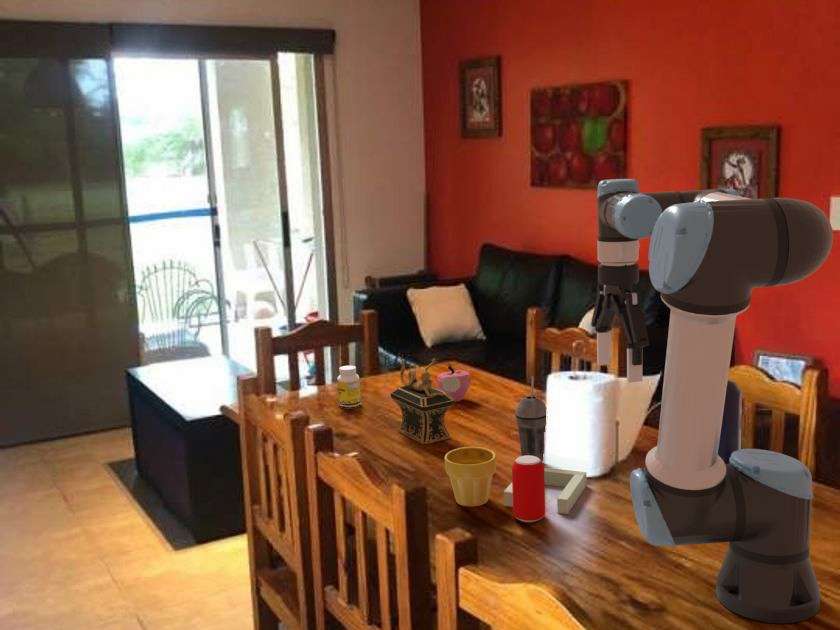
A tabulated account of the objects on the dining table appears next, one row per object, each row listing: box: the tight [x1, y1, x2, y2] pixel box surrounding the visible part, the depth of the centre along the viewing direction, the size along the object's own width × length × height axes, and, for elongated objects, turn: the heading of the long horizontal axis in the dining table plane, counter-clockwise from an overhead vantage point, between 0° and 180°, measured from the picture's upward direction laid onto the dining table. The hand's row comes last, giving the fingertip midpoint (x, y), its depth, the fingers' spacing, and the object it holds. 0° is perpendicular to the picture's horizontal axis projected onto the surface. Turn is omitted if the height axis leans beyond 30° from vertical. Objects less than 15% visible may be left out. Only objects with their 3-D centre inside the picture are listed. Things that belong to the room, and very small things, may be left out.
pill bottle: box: [336, 365, 362, 407], centre depth 251 cm, size 6×6×11 cm
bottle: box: [718, 378, 743, 464], centre depth 190 cm, size 9×9×30 cm
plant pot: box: [444, 446, 497, 508], centre depth 182 cm, size 10×10×10 cm
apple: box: [437, 364, 472, 403], centre depth 251 cm, size 10×9×10 cm
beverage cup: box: [514, 375, 547, 462], centre depth 200 cm, size 7×7×20 cm
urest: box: [503, 467, 588, 515], centre depth 183 cm, size 15×13×3 cm
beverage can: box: [511, 455, 546, 523], centre depth 172 cm, size 6×6×12 cm
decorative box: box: [390, 356, 456, 445], centre depth 224 cm, size 20×10×20 cm, turn 31°
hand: (618, 372), depth 172 cm, fingers open, 13 cm apart
